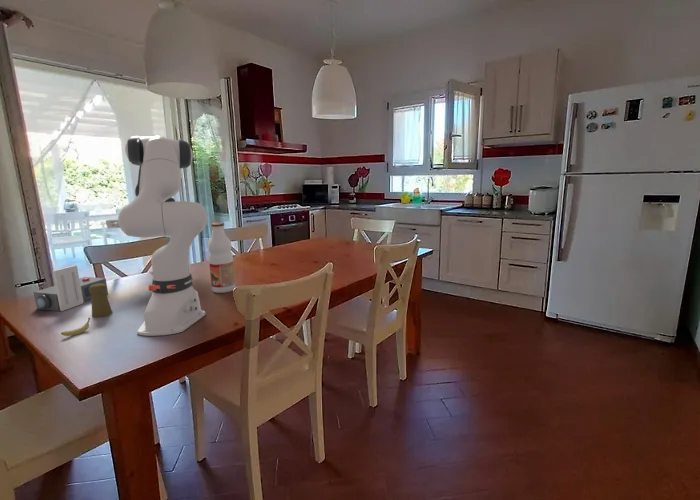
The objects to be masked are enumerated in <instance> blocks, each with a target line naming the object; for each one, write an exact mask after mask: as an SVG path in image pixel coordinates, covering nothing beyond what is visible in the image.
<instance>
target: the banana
mask: <svg viewBox="0 0 700 500" xmlns="http://www.w3.org/2000/svg"><path fill="white" fill-rule="evenodd" d="M90 320H91V317H88V319H87V322H86V323H85V324H84V325H82V326H81V327H79V328H76V329H72V330H66V331H65V330H64V331H62V332H61V333H60V334H61V335H62V336H65V337H72V336H77V335H80V334H82V333H84V332H86V331H87V330H88V329H89V328H90V324H89V322H90Z"/></svg>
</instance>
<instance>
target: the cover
mask: <svg viewBox="0 0 700 500" xmlns="http://www.w3.org/2000/svg"><path fill="white" fill-rule="evenodd" d="M52 276H53V281H54V286H55V287H56V292H57V297H58V302H59V307H60V311H59V312H64V311H66V310H70V309H72V308H74V307H78V306H80V305H81V306H82V305H83V304H84V303H85V302H84V301H83V296H82V291H81V285H80V280H79V279H80V275H79V271H78V266H77V265H76V264H73V265H70V266H67V267H62V268H58V269H55V270H52Z"/></svg>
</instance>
